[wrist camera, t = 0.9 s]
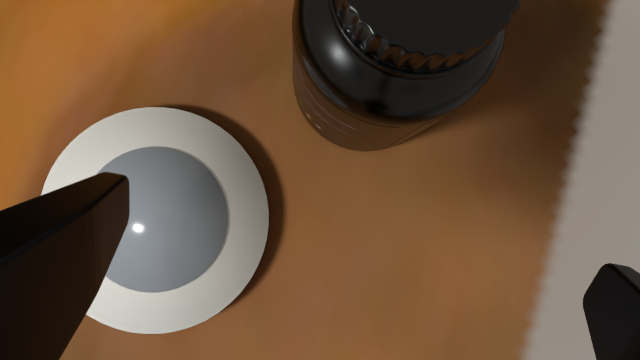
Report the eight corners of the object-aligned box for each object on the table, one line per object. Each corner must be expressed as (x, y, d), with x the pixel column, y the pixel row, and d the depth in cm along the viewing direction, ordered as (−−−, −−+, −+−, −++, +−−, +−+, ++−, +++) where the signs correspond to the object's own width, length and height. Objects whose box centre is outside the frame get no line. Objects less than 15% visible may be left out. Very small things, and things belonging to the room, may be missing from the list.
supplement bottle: (374, -15, 24) (461, -232, 12) (460, 96, 24) (632, -11, 12) (261, 68, 24) (236, -74, 12) (349, 183, 24) (416, 158, 12)
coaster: (261, 334, 23) (260, 339, 22) (36, 324, 22) (25, 329, 21) (275, 118, 23) (275, 114, 23) (56, 102, 23) (46, 98, 22)
